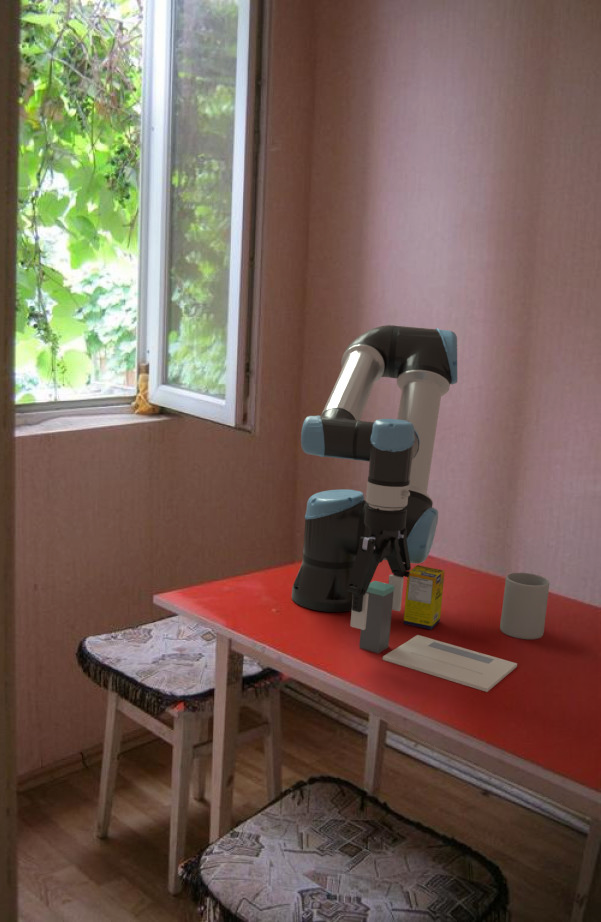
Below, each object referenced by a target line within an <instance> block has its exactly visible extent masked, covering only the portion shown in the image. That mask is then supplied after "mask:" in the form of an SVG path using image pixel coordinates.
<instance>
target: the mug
mask: <svg viewBox="0 0 601 922" xmlns="http://www.w3.org/2000/svg"><path fill="white" fill-rule="evenodd" d="M549 589H550V580H549V579H547V578H546V577H543V576H542V575H539V574H534V573H529V572H512V573H508V574H507V575H506V576H505V583H504V591H503V592H504V593H503V601H502V608H501V616H500V625H499V628H500V631H501V632H502V633H503V634H505V635H506V636H508V637H512V638H515V639H519V640H520V639H522V640H537V639H540V638H542V637H543V635H544V632H545V623H546V616H547V605H548V598H549V591H550V590H549Z"/></svg>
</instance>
